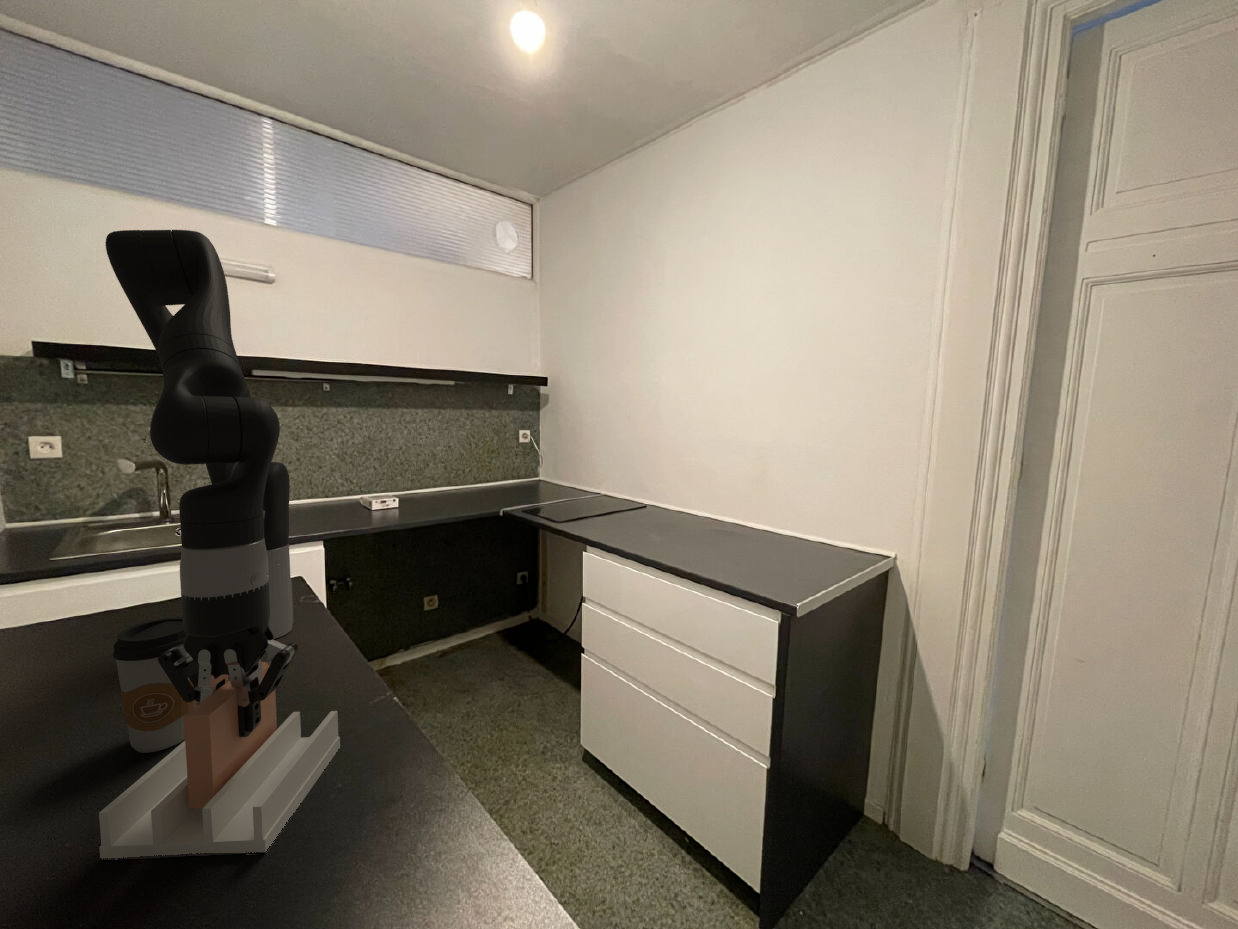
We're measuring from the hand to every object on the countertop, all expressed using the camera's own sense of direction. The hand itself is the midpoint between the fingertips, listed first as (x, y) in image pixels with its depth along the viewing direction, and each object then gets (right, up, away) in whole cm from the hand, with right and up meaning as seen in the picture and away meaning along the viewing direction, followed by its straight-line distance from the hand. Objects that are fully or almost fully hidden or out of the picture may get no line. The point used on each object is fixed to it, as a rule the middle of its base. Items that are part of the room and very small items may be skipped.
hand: (234, 732), depth 56 cm
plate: (0, -5, +1) cm, 5 cm away
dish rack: (0, -8, +1) cm, 8 cm away
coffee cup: (-17, -6, +10) cm, 21 cm away
